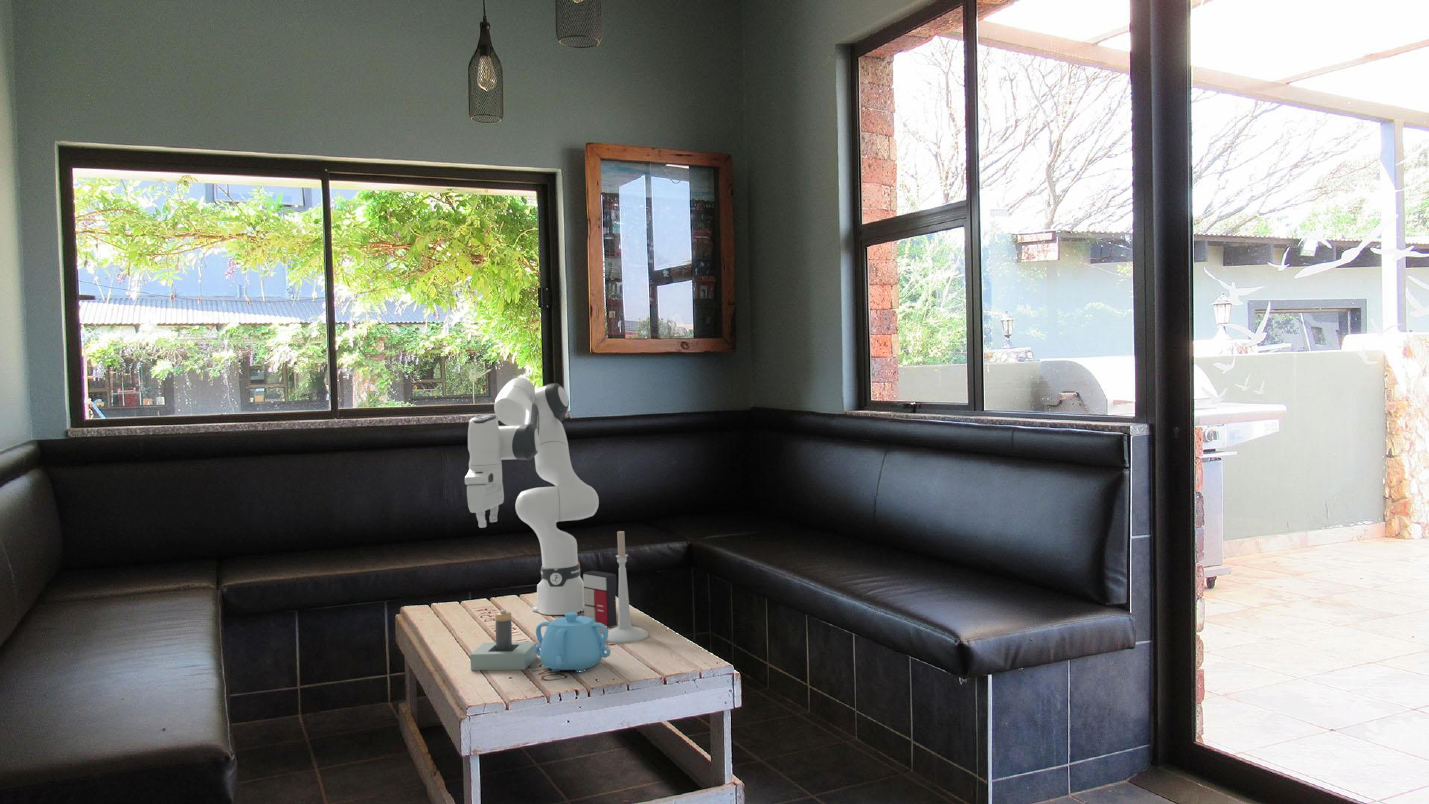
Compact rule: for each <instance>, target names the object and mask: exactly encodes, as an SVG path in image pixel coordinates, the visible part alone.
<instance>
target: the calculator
mask: <svg viewBox="0 0 1429 804" xmlns="http://www.w3.org/2000/svg"><path fill="white" fill-rule="evenodd" d="M582 580H583V582H584V589H583V592H584V604H585V606H584V611H583V612H584V613H583V614H584V615H583V616H585V617H590V618H593V619H594V621H595V622H596V623H602V624H604V625H605V626H607V628H612V627H611V626H613V627H615V626H618V617H617V595H616V590H617V587H618V586H617V585H618V584H617V583H618V581H617V574H616V573H610V572H603V571H598V570H589V571H584V572H583V575H582Z"/></svg>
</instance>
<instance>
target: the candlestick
mask: <svg viewBox="0 0 1429 804" xmlns="http://www.w3.org/2000/svg"><path fill="white" fill-rule="evenodd" d="M616 535H617V536H616V537H617V555H615V557H616V561H617V563H618V566H619V567H618V607H617V609H618V614H617V615H618V617H617V627H613V628H611V629H609V630H608V638H607V642H606V643H609V644H632V643H631V642H633V643H636V642H635V641H638V642H642V641H644V640H646V639H647V638H648V637H649V632H648V631H647V630H645V629H643V628H641V627H638V626H632V622H631V621H632V620H631V612H630V611H631V610H630V599H629V589H628V588H629V587H628V577H627V576H628V575H627V568H626V563H627V561H628V559H627V558H628V556H629V555H628V554H626V540H625V539H626V538H625V531H624V530H623V531H622V530H621V529H620V530H619V531H617V532H616ZM602 637H603V634H602ZM645 638H646V639H645ZM643 639H644V640H643ZM641 640H642V641H641Z"/></svg>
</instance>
